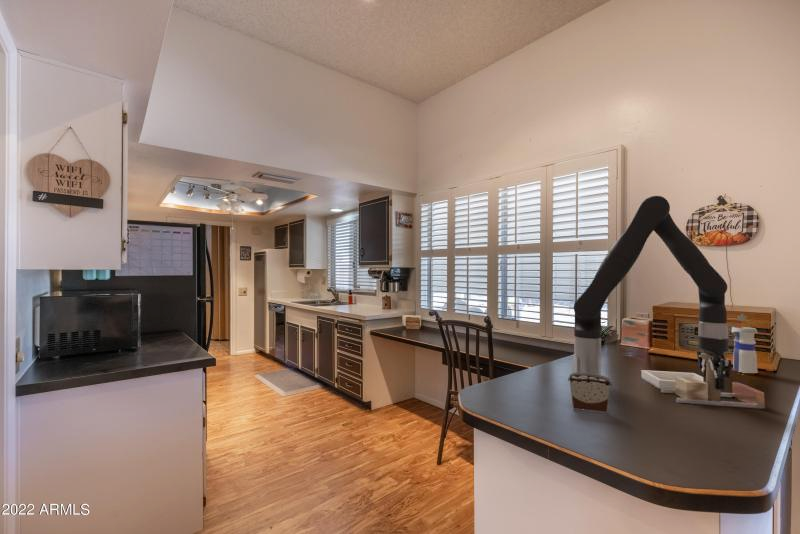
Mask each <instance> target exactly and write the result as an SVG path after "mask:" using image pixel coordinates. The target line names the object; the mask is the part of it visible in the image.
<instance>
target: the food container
mask: <svg viewBox="0 0 800 534" xmlns="http://www.w3.org/2000/svg"><path fill="white" fill-rule="evenodd" d="M567 382H569V386H570V396H571V403H572V409H573V408H576V409H575V410H579V409H584V410H583V411H587V410H591V411H590V412H596V411H599V412H598V413H604V412H607V413H608V410H609V401H610V394H611V393H610V392H611V387H614V385H613V382H612V379H611V378H609V377H607V376H604V375H602V374H601V375H597V374H591V373H573V372H572V373H570V374H569V375H568V378H567Z"/></svg>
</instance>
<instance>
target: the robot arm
mask: <svg viewBox="0 0 800 534" xmlns="http://www.w3.org/2000/svg"><path fill="white" fill-rule="evenodd" d="M670 206H671V205H670V202H669V201H668V200H667V199H666V198H665V197H663V196H661V195H653V196H652V195H651V196H649V197H647V198H645V199H644V200H643V201H642V202H640V203H639V206H638V208H637V210H636V211H635V214H634V216H633V218H632V220H631V221H630V223H629V225H628V226H627V228H626V229H625V230H624V232H623V233H622V234H621V235H620V237H618V239H617V241H615V243H614V244H613V246H612V247H611V248H610V250H609V251H608V253H607V254H606V256H605V257H604V258H603V259H602V260H603V261H602V262H601V264H599V267H598V269H597V271H596V273H595V275H594V276H593V279H592V281H591V282H590V284H589V286H588V287H587V288H586V289H585V291H584V292H582V294H581V295H580V296H579V297H578V298H577V299H576V300H575V302H574V304H573V311H574V329H573V332H574V333H573V335H574V338H573V339H574V340H573V341H574V342H573V344H574V345H573V347H574V349H573V350H574V351H573V352H574V353H573V354H572V373H591V374H597V375H601V376H602V310H603V306H604V305H605V304H606V301H607V299H608V298H609V295H611V293H612V292H613V291H614V289H615V288H616V287H617V286H618V285H619V284H620V283H621V282H622V281H623V279H624V278H625V276H626V275H627V274H628V273H629V272H630V270H631V269H632V267H634V265H635V263H636V261H637V260H638V258H639V257H640V254H641V253H642V251H643V249H644V246H645V244H646V243H647V241H648V239H649V238H650V235H651V234H652V233H653V231H654V232H655V234H656V235H657V236H658V238H660V239H661V241H663V243H664V244H665V246H666V247H667V249H669V252H670V253H671V254H672V255H673V258H675V259H676V261H677V262H678V264H679V266H680V267H681V268H682V269H683V270H684V271H685V273H686V274H688V275H689V276H690V278H691V279H692V280H693V282H694V284H695V285H696V286H697V287H698V288H697V290H698V300H699V309H698V329H697V331H698V335H697V336H698V337H697V338H698V343H697V344H698V348H699V349H700V350H702V351H696V356H697V357H696V358H697V367H698V369H699V370H701V372H702V373H703V375H702V377H703V382H705V383H706V367H707V363H706V360H705V359H703V358H701V353H706V354H709V355H712V356H714V360H712V358H711V357H709V360H708V361H709V362H710V366H711V370H712V371H714V375H715V377H716V378H715V389H717V390H721V391H724V390H725V379H729V378H730V377H731V368H732V361H731V360H730V359H727V358H726V359H725V358H724V356H725V355H724V353H726V352H728V351H729V329H728V318H727V317H728V315H727V314H728V312H727V308H726V303H725V302H726V292H727V290H728V284H727V282H726V280H725V279H724V278H723V277H722V275H720V273H719V272H718V271H717V270H716V269H715V268H714V267H713V266H712V265H711V264H710V262H709V261H708V259H707V258H706V256H705V255H704V254H703V252H702V251H701V250H700V249H699V247H698V246H697V245H695V243H694V242H693V241H692V240H691V239H690V238H689V237H687V235H686V234H685V233H684V232H682V230H681V229H680V228H679V227H678V226H677V224H676V223H675V221H674V219H673V217H672V216H671V214H670V209H671V207H670ZM716 367H719V368H716ZM718 371H719V374H718Z"/></svg>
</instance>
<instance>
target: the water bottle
mask: <svg viewBox="0 0 800 534" xmlns="http://www.w3.org/2000/svg"><path fill="white" fill-rule="evenodd" d="M736 317H737V318H739V320H738V321H739V322H740V321H744V322H745V321H746V318H748V316H747V315H744V314H743V313H741V315H737V316H736ZM731 333H732V334H733V335H735V338H734V339H733V342H734V343H733V346H734V348H733V364H732V366H733V367H732V371H733V370H734V371H737V372H742V373H759V372H758V371H759V370H758V360H757V359H758V356H757V352H756V344H757V342H756V341H755V334H758V333H759V332H758V330H757V328H754V327H750V326H742V327H735V326H732V327H731Z"/></svg>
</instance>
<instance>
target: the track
mask: <svg viewBox="0 0 800 534" xmlns="http://www.w3.org/2000/svg"><path fill="white" fill-rule="evenodd" d="M731 388H732V392H724V391H723V392H722V391H721V395H720V398H723V397H724V398H732V397H735V398H734V399H736V398H737V400H738V399H739V401H726V400H720V401H715V400H709V399H708V400H700V399H686V398H682V397H676V403H681V404H693V405H695V404H696V405H707V406H708V405H709V406H719V407H733V408H734V407H735V408H747V409H748V408H749V409H761V410H762V409H763V410H765V409H766V407H765V392H763V391H761V390H759V389H756V388H754V387H752V386H748V385H746V384H744V383H742V382H737V381H732V387H731ZM660 392H661V393H662V394H663V393H664V394H675V389H663V388H661V389H660ZM675 395H676V394H675ZM740 401H741V402H740ZM745 402H746V403H745Z"/></svg>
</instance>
